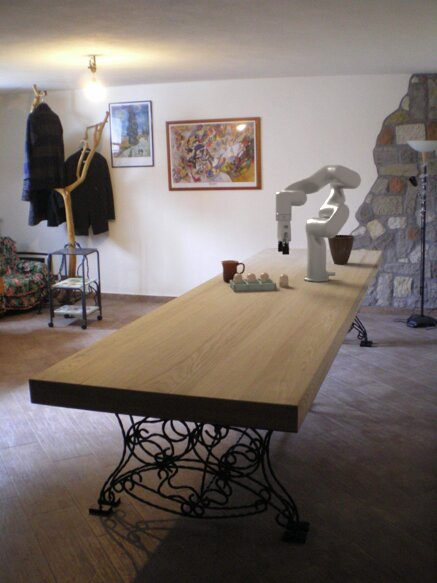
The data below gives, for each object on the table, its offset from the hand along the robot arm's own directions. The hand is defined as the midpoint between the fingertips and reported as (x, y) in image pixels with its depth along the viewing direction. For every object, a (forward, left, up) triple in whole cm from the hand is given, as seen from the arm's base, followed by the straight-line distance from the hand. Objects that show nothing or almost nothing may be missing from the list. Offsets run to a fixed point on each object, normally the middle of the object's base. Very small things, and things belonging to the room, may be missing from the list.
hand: (283, 253), depth 318 cm
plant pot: (-47, -58, -17) cm, 77 cm away
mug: (+22, -19, -17) cm, 33 cm away
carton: (+15, 0, -17) cm, 23 cm away
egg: (0, 0, -17) cm, 17 cm away
